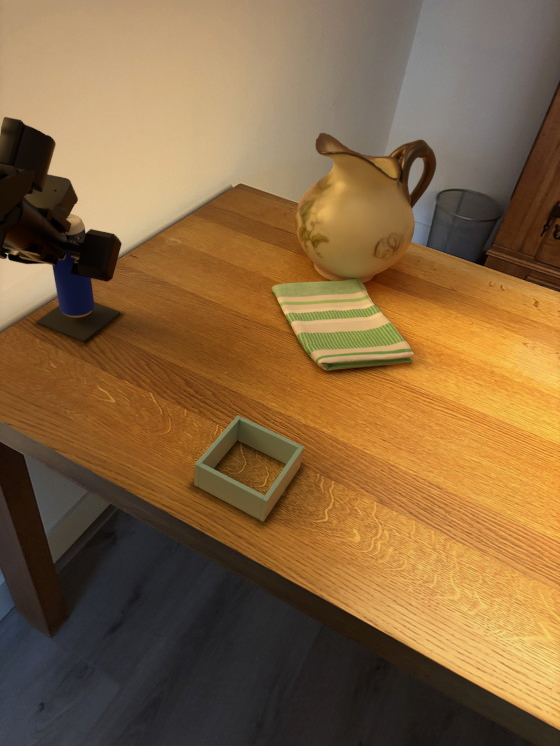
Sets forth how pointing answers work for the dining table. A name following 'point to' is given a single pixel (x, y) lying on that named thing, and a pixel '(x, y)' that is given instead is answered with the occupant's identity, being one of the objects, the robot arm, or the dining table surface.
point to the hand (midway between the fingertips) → (75, 263)
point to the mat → (79, 322)
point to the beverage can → (73, 280)
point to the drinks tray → (235, 490)
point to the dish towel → (341, 325)
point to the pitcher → (361, 209)
